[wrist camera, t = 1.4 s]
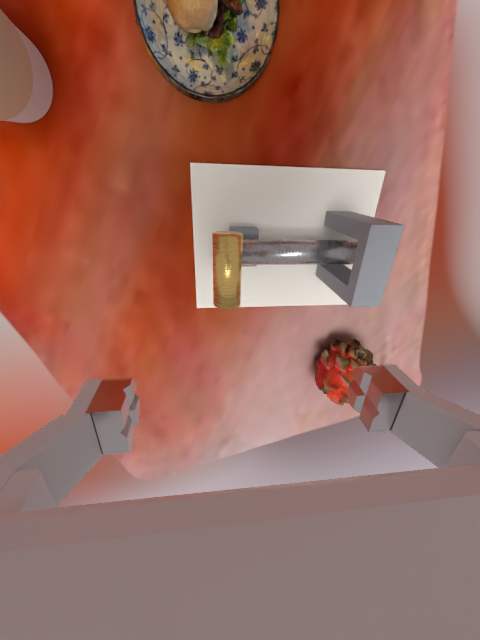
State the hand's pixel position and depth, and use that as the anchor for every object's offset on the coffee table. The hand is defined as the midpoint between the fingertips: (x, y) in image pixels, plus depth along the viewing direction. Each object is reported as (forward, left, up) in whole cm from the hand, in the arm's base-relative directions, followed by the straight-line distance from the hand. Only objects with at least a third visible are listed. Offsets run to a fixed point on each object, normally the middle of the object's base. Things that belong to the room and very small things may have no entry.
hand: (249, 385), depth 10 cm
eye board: (0, +8, -25) cm, 26 cm away
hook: (0, +9, -23) cm, 25 cm away
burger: (-19, -1, -25) cm, 32 cm away
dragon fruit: (+18, +18, -25) cm, 36 cm away
